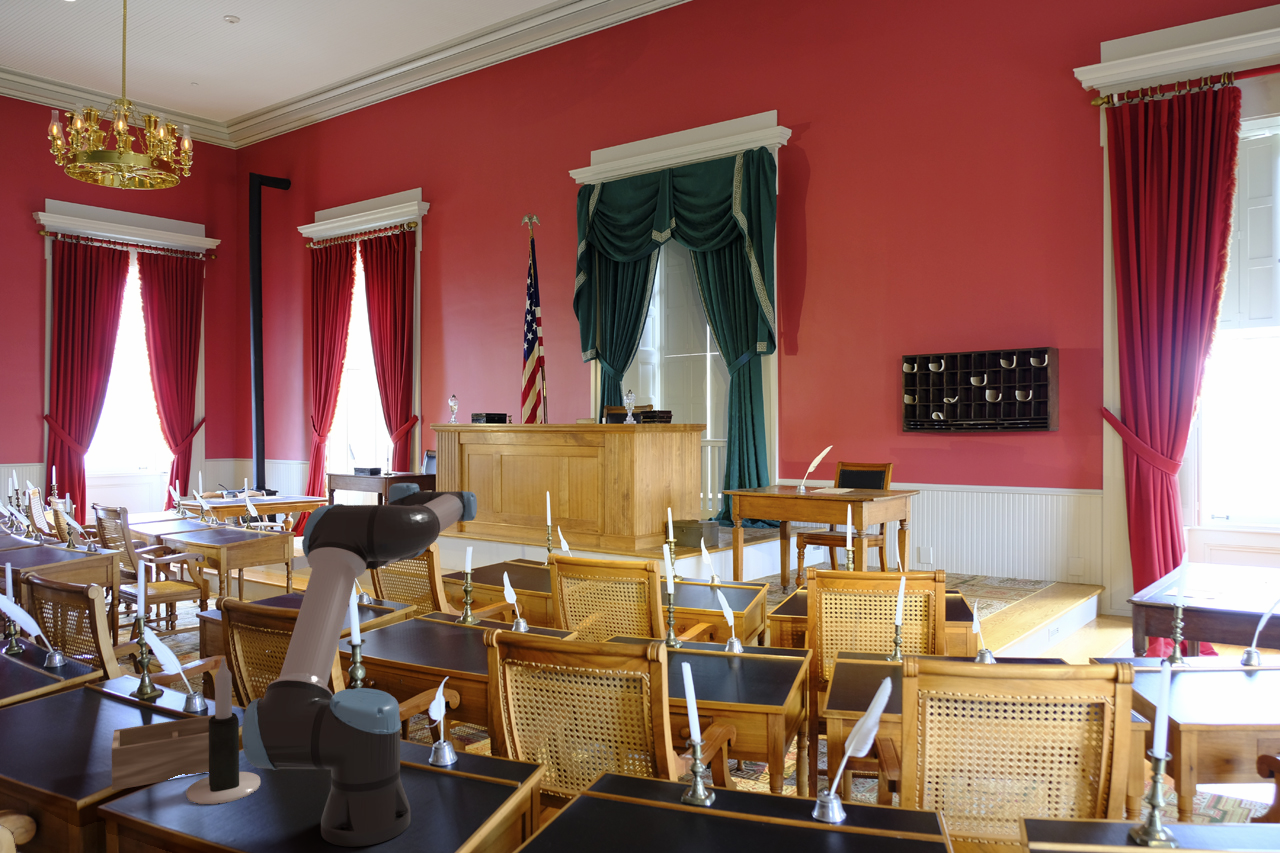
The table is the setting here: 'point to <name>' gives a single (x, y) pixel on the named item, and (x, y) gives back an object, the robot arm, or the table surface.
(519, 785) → the table surface
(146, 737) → the candle box
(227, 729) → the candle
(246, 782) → the plate
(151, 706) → the table surface
